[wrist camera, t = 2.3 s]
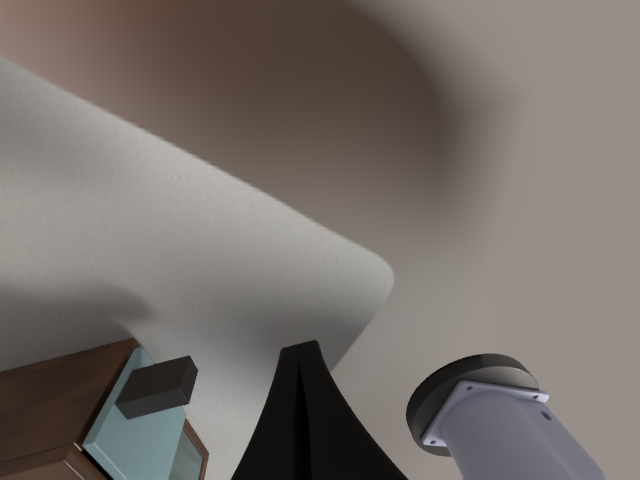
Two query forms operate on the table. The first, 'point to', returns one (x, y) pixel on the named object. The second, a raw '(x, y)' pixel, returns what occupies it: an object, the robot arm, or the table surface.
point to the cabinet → (71, 418)
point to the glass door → (143, 418)
